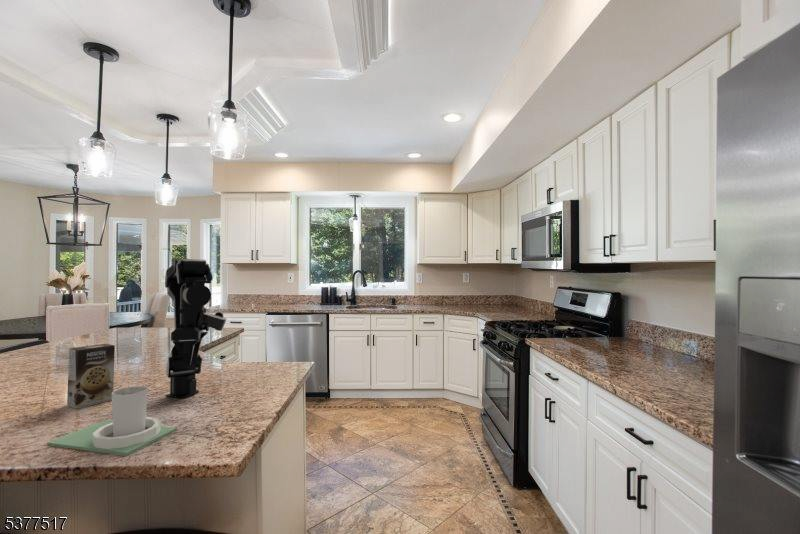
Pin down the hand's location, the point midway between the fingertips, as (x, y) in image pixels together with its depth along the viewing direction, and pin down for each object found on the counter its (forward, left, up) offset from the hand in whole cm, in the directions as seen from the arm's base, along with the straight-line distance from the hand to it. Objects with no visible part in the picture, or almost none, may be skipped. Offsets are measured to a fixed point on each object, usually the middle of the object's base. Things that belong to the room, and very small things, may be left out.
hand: (191, 361), depth 104 cm
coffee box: (-32, -2, -13) cm, 35 cm away
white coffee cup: (0, -19, -12) cm, 22 cm away
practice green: (-3, -19, -13) cm, 23 cm away
